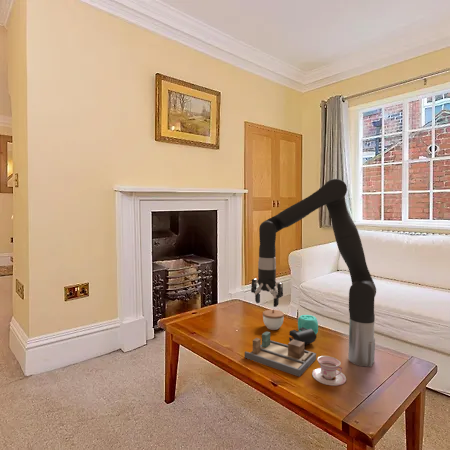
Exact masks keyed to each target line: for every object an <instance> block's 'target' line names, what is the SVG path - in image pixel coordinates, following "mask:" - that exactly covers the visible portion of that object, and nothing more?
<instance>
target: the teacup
mask: <svg viewBox="0 0 450 450" xmlns="http://www.w3.org/2000/svg"><path fill="white" fill-rule="evenodd" d="M316 360H317V362H318V365H319V366H320V367H317V368H316V369H313V370H312V371H311V372H312V373H311V374H312V375H311V376H312V377H313V379H314V380H315V381H316V382H319V383H320V384H323V385H326V386H332V387H335V386H342V385H344V384H345V383H346V382H347V377H346V375H345V374H344V373H343V372H342V370H343V367H341V364H342V363H341V360H339V359H337V358H336V357H333V356H329V355H321V356H318V357H316ZM338 369H339V370H338ZM333 378H335V379H333Z"/></svg>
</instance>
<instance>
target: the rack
mask: <svg viewBox="0 0 450 450" xmlns="http://www.w3.org/2000/svg"><path fill="white" fill-rule="evenodd" d="M270 343H274V344H277V345H280V346H284V347H287V348H288V344H286V343H281V342H278V341H276V340H275V341H274V340H271V339H270ZM261 347H262V344H261ZM260 351H263V352H266V353H270V354H273V355H276V356H279V357H282V358H285V359H289V360H292V361H295V362H298V363H301V364H302V366H301V367H300V368H299V369H298V368H295V367H292V366H289V365H286V364H283V363H280V362H277V361H273V360H270V359H267V358H264V357H261V356H258V355H255V354H252V353H253V350H252V351H250V352H249V351H244V359H246V358H247V360H249V359H250V360H249V361H252V360H253V362H255V363H259V364H261V365H264V366H267V367H270V368H273V369H276V370H278V371H281V372H284V373H287V374H290V375H293V376H296V377H301V376H302V375H304V373H305V372H306V370H307V369H309V367H310V366H311V365H312V364H313V363H314V362H315V361H316V360H317V353H316V352H313V351H310V350H306V349H304V353H308V352H312V356H311V357H310V358H309V359H308V360H307V361H306V362H304V361H301V360H298V359H295V358H291V357H288V356H285V355H282V354H279V353H275V352H272V351H269V350H266V349H263V348H261V349H260Z"/></svg>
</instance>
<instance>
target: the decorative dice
mask: <svg viewBox="0 0 450 450" xmlns="http://www.w3.org/2000/svg"><path fill="white" fill-rule="evenodd" d="M302 327H303V328H305V329H312V330H313V331H314V332H315V335H317V334H318V333H319V322H318V319H317V317H316V316H314V315H312V314H301V315H300V316H299V317H298V318H297V329H298V330H297V331H301V330H299V328H302Z"/></svg>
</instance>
